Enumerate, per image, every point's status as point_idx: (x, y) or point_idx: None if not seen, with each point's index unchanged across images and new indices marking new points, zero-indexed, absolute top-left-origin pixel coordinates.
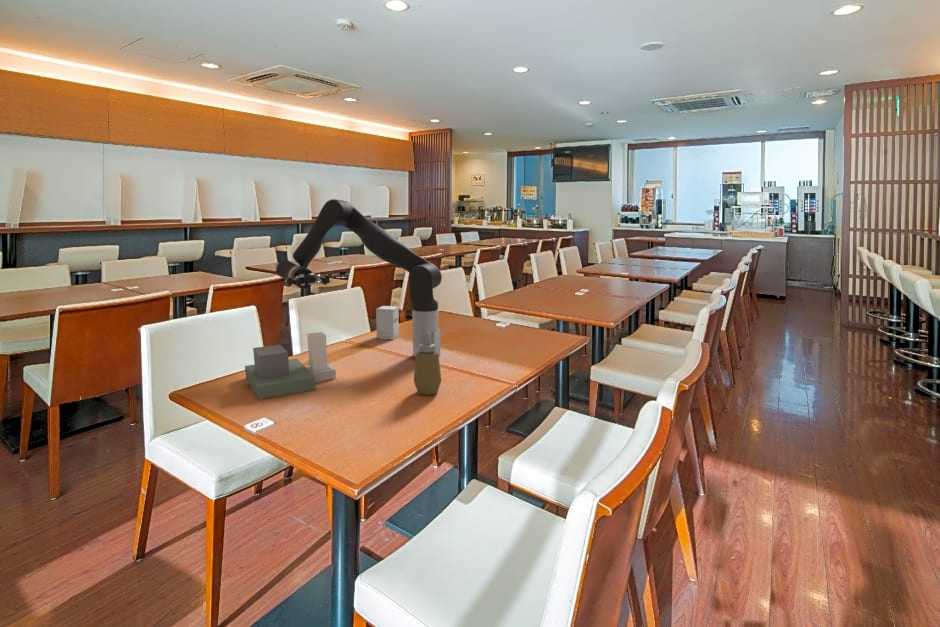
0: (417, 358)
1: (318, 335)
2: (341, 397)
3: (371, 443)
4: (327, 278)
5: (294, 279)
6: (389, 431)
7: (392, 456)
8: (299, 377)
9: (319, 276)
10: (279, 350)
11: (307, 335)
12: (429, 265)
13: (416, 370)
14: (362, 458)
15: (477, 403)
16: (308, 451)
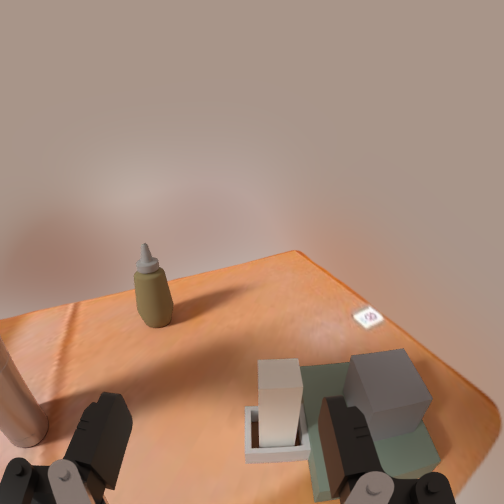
0: (164, 276)
1: (276, 364)
2: (265, 347)
3: (271, 272)
4: (43, 468)
5: (382, 476)
6: (249, 279)
7: (263, 260)
8: (324, 372)
9: (85, 500)
10: (370, 368)
11: (302, 388)
12: None
13: (168, 291)
14: (284, 263)
15: None
16: (320, 276)
